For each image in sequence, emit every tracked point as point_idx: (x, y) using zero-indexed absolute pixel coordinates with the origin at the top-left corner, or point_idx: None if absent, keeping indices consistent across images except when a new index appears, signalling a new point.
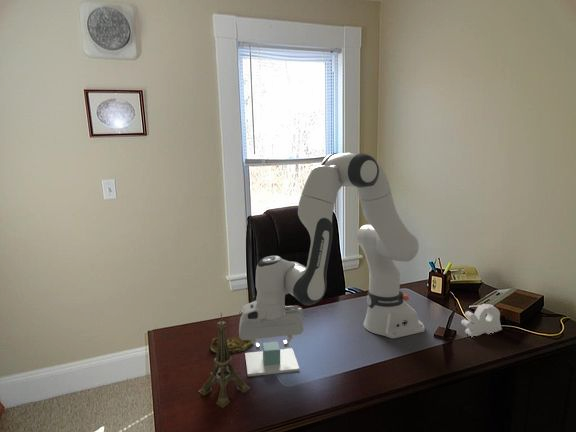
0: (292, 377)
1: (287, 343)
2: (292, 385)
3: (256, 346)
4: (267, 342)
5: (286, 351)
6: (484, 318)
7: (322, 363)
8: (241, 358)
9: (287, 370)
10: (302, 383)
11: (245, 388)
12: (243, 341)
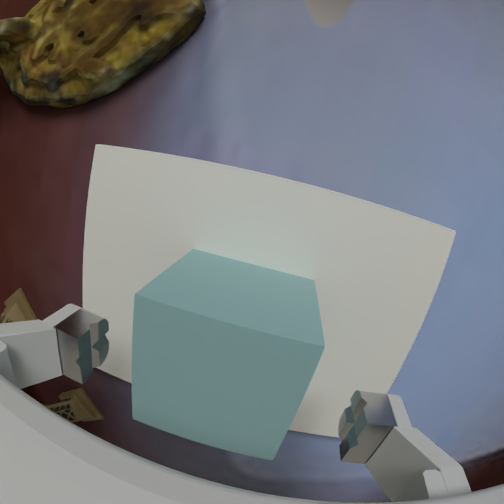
0: (295, 451)
1: (368, 460)
2: (268, 478)
3: (61, 372)
4: (191, 312)
5: (399, 257)
6: None
7: (476, 405)
8: (80, 176)
9: (293, 427)
10: (312, 481)
11: (85, 418)
12: (123, 13)
